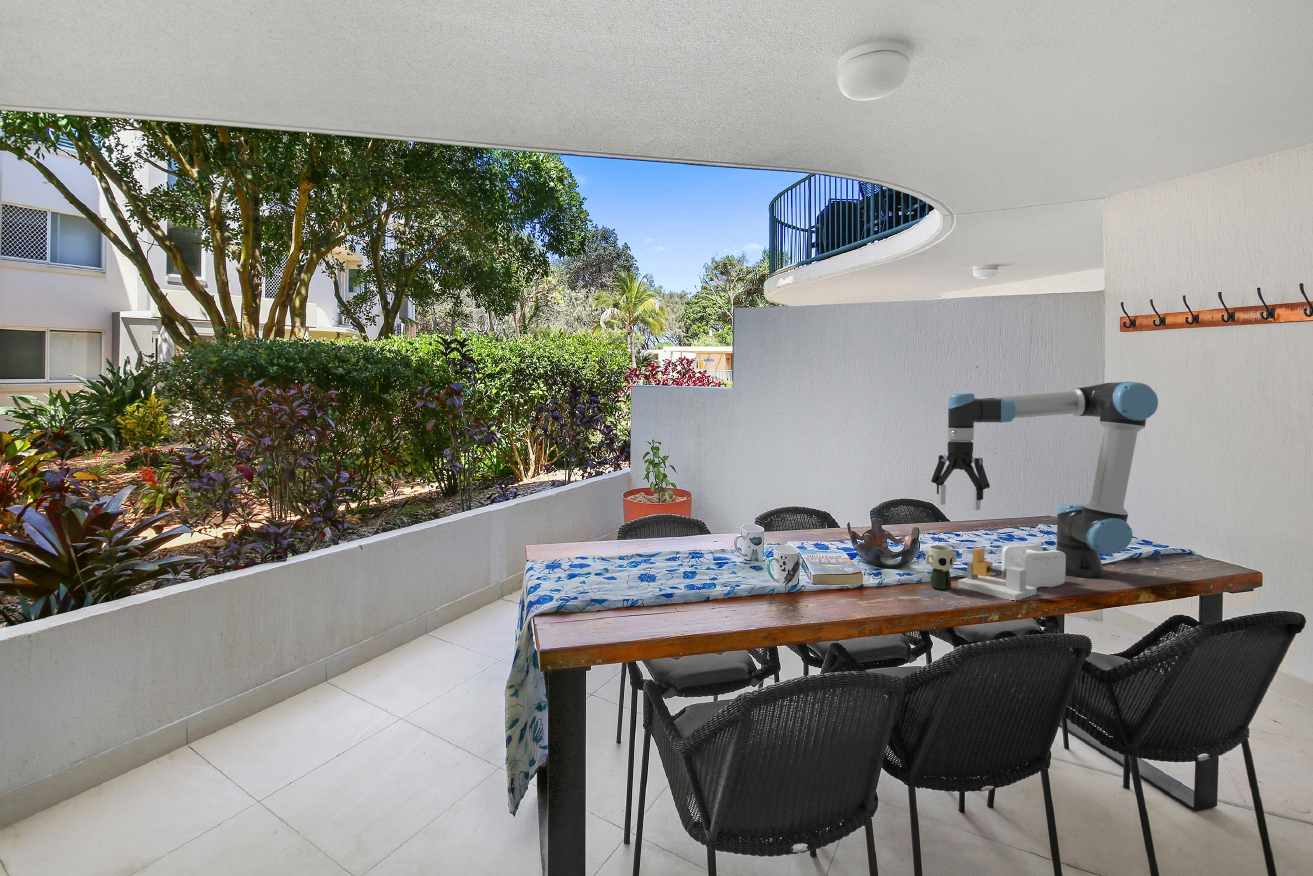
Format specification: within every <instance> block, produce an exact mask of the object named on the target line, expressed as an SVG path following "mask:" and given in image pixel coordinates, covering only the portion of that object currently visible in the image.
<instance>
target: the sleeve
mask: <svg viewBox="0 0 1313 876" xmlns="http://www.w3.org/2000/svg"><path fill="white" fill-rule="evenodd" d="M985 551H986V550H985V547H981V546H980V547H976V548H973V549H972V561H973V574H975V575H980V576H984V577H986V576H992V575H993V572H989V571H987V567H988V568H993V562H992V561H988V560H985Z"/></svg>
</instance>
